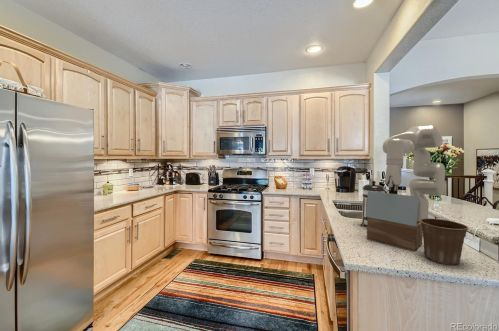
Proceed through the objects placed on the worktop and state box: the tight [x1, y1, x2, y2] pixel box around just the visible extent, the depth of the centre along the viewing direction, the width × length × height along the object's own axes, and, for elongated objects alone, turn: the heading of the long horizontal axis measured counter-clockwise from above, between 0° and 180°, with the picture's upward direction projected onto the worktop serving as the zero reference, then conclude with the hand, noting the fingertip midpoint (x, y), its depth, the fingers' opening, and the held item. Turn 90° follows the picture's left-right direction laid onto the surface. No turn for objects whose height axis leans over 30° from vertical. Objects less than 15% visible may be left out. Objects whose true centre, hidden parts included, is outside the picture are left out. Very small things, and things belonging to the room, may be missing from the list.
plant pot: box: [420, 217, 469, 266], centre depth 101 cm, size 16×16×16 cm
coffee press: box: [360, 180, 386, 227], centre depth 149 cm, size 17×16×30 cm
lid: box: [366, 191, 419, 226], centre depth 118 cm, size 14×23×1 cm
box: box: [366, 217, 423, 252], centre depth 122 cm, size 14×22×12 cm, turn 42°
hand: (393, 198), depth 120 cm, fingers closed
